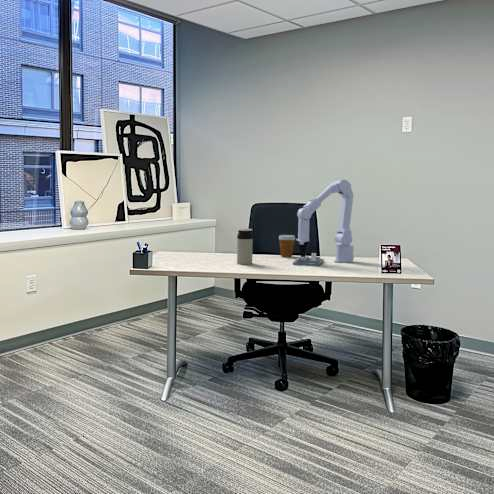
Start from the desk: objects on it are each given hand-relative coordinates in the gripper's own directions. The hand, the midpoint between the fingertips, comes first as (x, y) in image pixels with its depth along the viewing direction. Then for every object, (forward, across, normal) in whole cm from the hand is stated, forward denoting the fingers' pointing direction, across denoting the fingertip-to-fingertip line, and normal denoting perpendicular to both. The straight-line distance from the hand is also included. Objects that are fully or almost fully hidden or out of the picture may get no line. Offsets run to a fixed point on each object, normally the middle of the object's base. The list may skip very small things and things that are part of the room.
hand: (303, 256), depth 297 cm
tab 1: (+2, -2, 0) cm, 3 cm away
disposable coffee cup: (+4, -20, -12) cm, 23 cm away
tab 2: (+2, +3, +6) cm, 7 cm away
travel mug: (+4, +12, -29) cm, 31 cm away
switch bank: (+3, 0, +3) cm, 5 cm away
